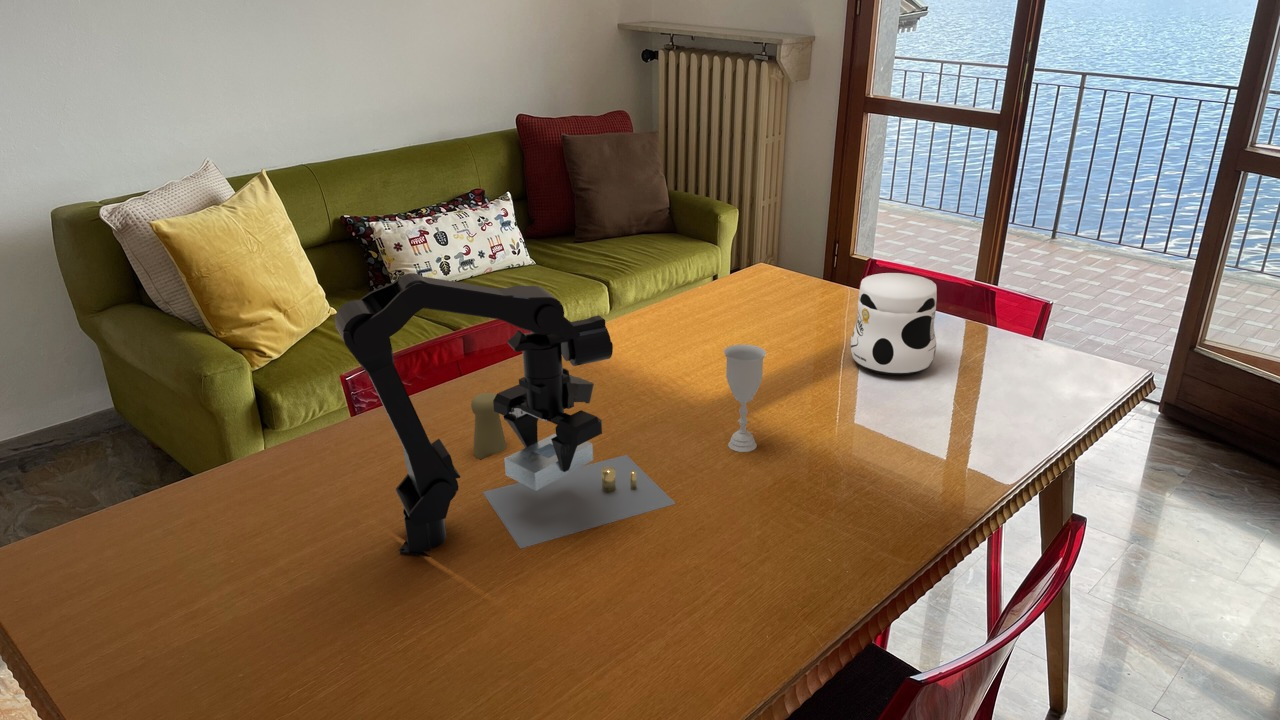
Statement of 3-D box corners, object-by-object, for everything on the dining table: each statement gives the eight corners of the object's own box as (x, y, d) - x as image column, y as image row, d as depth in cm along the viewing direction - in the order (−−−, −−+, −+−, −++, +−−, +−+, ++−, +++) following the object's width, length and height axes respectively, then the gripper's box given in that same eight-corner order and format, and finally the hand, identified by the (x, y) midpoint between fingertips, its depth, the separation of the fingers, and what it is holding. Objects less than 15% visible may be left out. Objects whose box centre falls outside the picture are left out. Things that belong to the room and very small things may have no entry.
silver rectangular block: (536, 490, 140) (534, 473, 139) (505, 475, 145) (504, 458, 143) (593, 460, 148) (592, 443, 147) (562, 446, 153) (561, 430, 151)
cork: (501, 461, 164) (496, 404, 160) (468, 458, 165) (462, 402, 161) (512, 445, 170) (507, 389, 165) (480, 442, 171) (475, 387, 166)
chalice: (715, 449, 167) (717, 355, 160) (730, 433, 172) (732, 341, 165) (754, 457, 164) (757, 362, 156) (768, 441, 169) (772, 348, 162)
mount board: (520, 554, 138) (520, 548, 138) (483, 497, 153) (482, 492, 153) (675, 509, 149) (675, 503, 149) (626, 459, 164) (626, 454, 163)
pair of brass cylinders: (602, 493, 152) (601, 473, 150) (602, 486, 154) (601, 466, 153) (636, 491, 152) (636, 472, 151) (636, 484, 154) (635, 465, 153)
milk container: (834, 355, 204) (839, 276, 197) (904, 345, 209) (912, 267, 202) (876, 387, 189) (883, 302, 182) (950, 375, 194) (960, 292, 187)
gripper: (626, 370, 139) (628, 462, 146) (541, 340, 151) (547, 426, 157) (571, 395, 132) (577, 491, 138) (487, 361, 144) (495, 451, 150)
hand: (549, 463), depth 146 cm, fingers closed on silver rectangular block, 7 cm apart
